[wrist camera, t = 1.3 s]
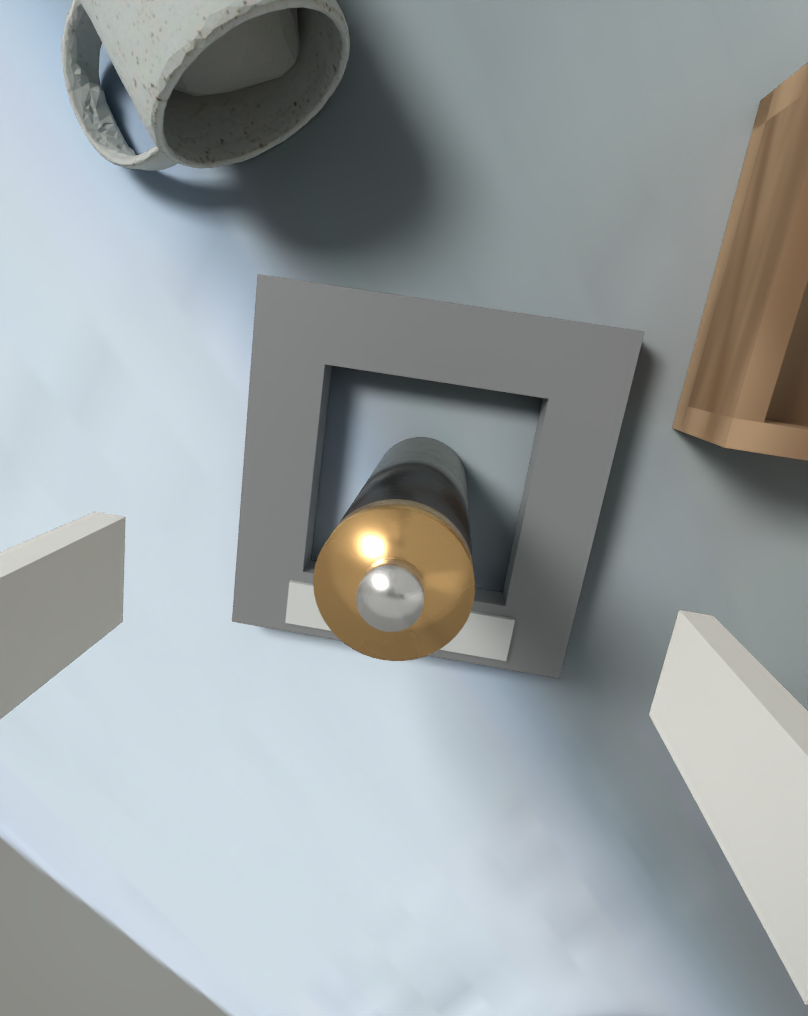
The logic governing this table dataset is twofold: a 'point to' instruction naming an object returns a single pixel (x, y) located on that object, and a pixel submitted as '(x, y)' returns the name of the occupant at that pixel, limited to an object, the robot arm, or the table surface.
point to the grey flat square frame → (449, 359)
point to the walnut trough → (759, 297)
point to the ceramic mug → (204, 74)
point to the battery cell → (401, 557)
